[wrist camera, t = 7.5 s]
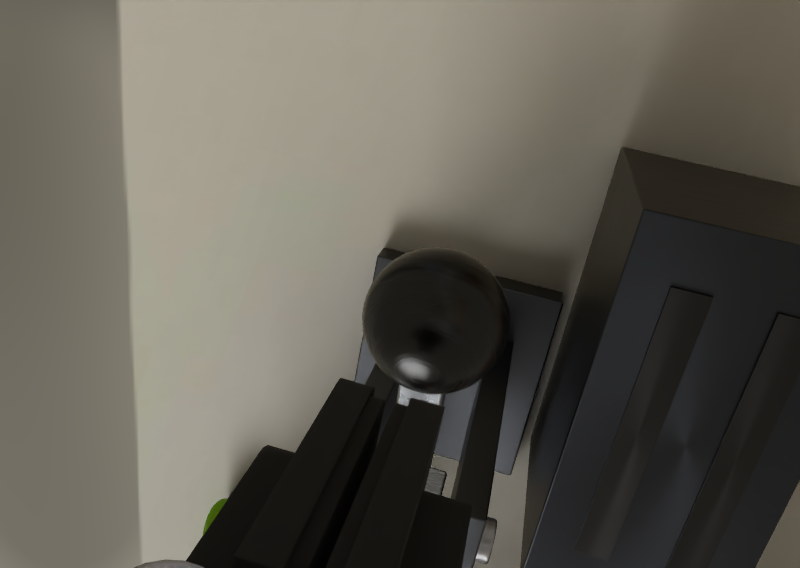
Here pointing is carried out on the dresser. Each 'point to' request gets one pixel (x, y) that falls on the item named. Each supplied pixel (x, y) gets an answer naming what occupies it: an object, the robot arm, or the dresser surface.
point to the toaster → (673, 377)
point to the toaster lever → (435, 326)
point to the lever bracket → (484, 404)
